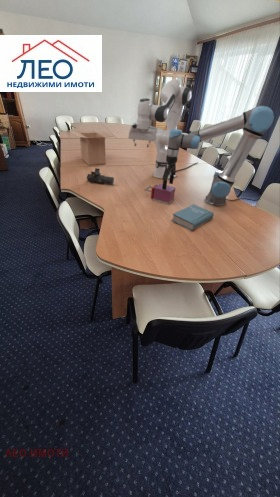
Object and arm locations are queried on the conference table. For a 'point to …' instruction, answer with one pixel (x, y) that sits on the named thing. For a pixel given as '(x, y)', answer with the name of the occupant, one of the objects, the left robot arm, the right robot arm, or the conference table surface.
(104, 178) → the laser sight
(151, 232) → the conference table surface
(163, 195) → the cabinet
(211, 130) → the right robot arm
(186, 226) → the book
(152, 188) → the drawer
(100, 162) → the box
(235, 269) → the conference table surface
